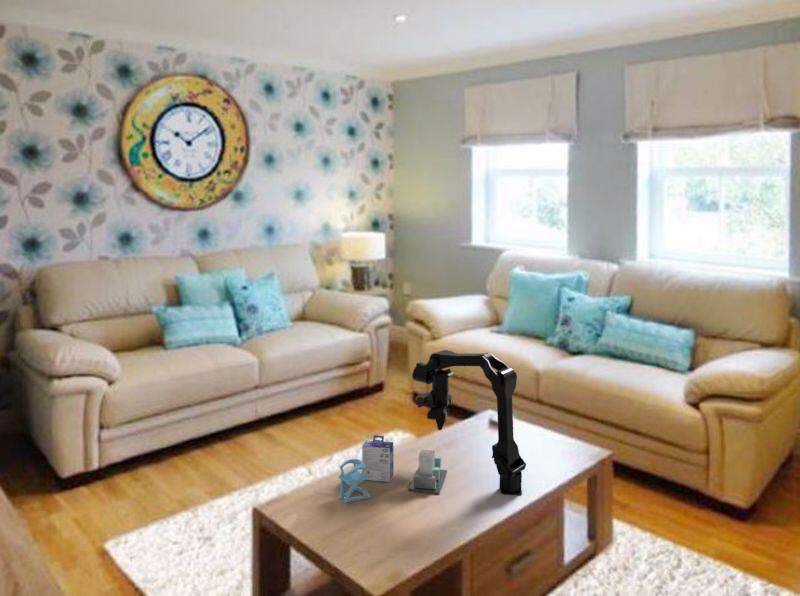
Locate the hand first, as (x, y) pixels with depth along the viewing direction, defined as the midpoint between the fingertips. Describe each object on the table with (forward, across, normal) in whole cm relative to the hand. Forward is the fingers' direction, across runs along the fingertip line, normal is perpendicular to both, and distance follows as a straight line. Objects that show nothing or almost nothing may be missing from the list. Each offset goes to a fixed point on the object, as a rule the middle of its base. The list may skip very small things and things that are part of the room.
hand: (439, 429), depth 227 cm
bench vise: (+13, +14, -2) cm, 19 cm away
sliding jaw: (+12, +9, -2) cm, 15 cm away
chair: (+13, +28, -24) cm, 39 cm away
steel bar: (+12, +16, -2) cm, 20 cm away
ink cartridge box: (+13, +14, -19) cm, 27 cm away
